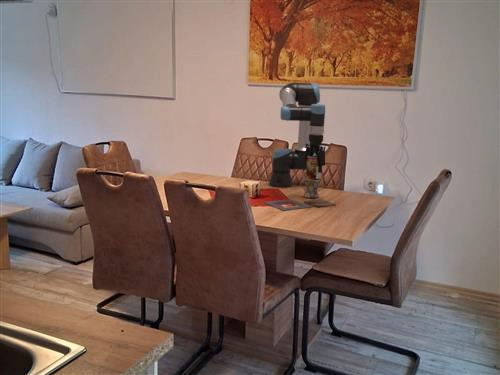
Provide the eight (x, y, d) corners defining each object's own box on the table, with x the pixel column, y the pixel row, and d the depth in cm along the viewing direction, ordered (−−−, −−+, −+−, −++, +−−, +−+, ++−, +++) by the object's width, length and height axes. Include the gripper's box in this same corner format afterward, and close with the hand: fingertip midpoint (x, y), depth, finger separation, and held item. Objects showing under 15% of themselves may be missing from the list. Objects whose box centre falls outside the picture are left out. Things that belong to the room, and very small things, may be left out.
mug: (321, 196, 272) (322, 178, 270) (315, 199, 264) (317, 181, 262) (302, 194, 278) (303, 176, 275) (296, 196, 270) (297, 178, 267)
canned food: (308, 180, 245) (310, 157, 242) (303, 177, 252) (305, 155, 250) (322, 180, 247) (324, 157, 244) (317, 177, 254) (318, 155, 252)
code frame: (263, 203, 251) (263, 202, 251) (290, 200, 261) (290, 199, 260) (283, 211, 236) (283, 210, 236) (311, 207, 246) (311, 206, 245)
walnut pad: (304, 202, 255) (304, 201, 255) (321, 200, 262) (321, 199, 261) (318, 207, 245) (318, 206, 245) (335, 205, 252) (335, 203, 252)
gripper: (298, 132, 251) (296, 174, 256) (323, 136, 234) (320, 181, 239) (309, 132, 255) (307, 173, 260) (334, 136, 238) (331, 180, 242)
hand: (313, 176), depth 249 cm, fingers closed on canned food, 8 cm apart
